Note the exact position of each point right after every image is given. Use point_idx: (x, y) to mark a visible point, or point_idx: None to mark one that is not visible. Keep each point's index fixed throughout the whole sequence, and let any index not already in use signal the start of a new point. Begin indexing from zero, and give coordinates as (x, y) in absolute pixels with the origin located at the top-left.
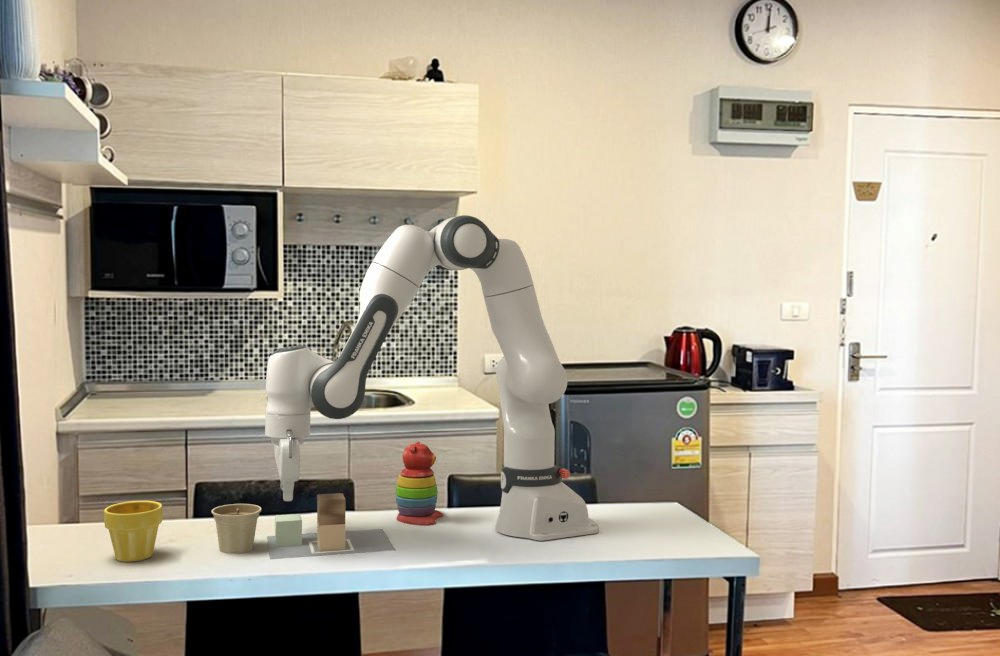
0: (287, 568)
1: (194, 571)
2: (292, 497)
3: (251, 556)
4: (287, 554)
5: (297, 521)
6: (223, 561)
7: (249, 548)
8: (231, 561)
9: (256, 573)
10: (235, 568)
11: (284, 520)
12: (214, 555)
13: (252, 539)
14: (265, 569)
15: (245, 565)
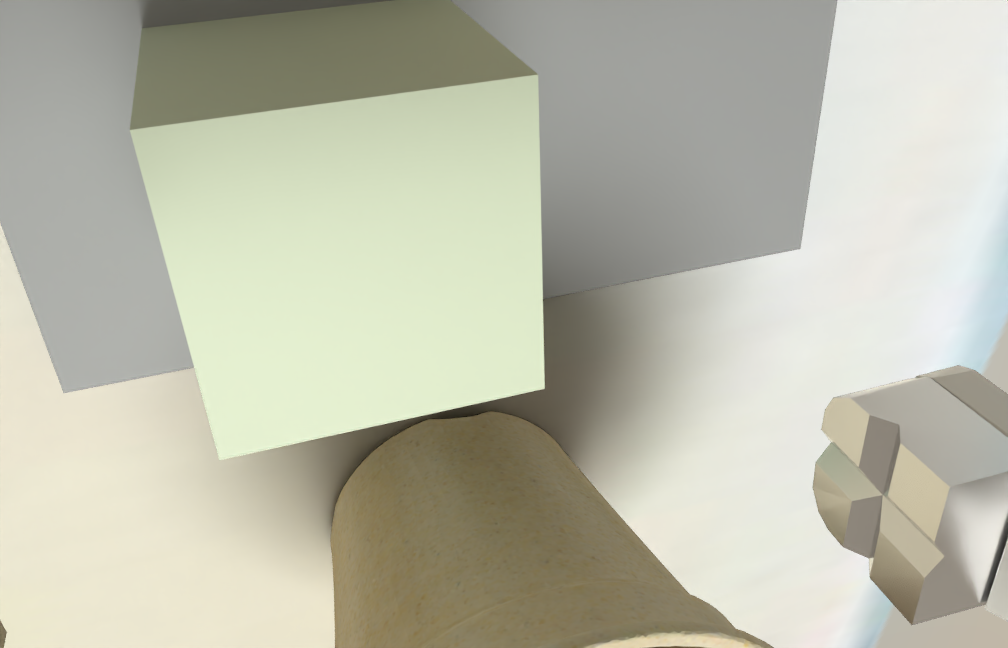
0: (943, 87)
1: (769, 601)
2: (994, 388)
3: (568, 390)
4: (731, 122)
5: (532, 134)
6: (634, 524)
7: (547, 443)
8: (649, 482)
9: (947, 285)
10: (800, 425)
11: (505, 307)
12: None
13: (553, 473)
14: (896, 243)
15: (763, 383)
